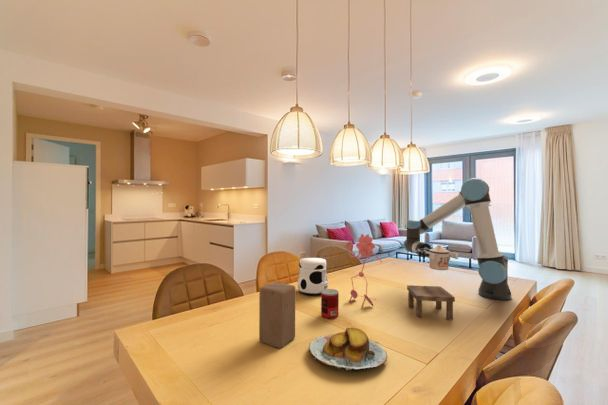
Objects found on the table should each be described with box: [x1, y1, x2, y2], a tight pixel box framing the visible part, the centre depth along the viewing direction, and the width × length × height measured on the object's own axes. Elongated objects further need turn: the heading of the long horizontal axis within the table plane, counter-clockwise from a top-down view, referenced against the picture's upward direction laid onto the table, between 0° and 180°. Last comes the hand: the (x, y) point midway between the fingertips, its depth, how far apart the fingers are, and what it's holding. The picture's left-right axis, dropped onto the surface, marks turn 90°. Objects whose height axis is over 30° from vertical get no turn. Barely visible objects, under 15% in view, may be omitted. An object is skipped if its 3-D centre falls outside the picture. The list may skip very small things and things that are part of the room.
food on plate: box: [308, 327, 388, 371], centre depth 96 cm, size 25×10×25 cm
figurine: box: [346, 233, 383, 308], centre depth 146 cm, size 15×26×35 cm, turn 31°
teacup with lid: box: [428, 244, 451, 271], centre depth 143 cm, size 12×9×12 cm
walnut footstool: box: [406, 285, 456, 321], centre depth 133 cm, size 16×16×10 cm
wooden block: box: [258, 281, 296, 349], centre depth 105 cm, size 10×10×20 cm
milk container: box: [297, 257, 329, 296], centre depth 162 cm, size 17×17×18 cm
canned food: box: [320, 288, 340, 320], centre depth 128 cm, size 8×8×11 cm
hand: (445, 256), depth 139 cm, fingers closed on teacup with lid, 12 cm apart
